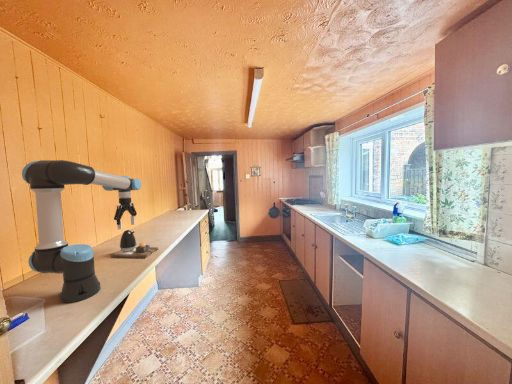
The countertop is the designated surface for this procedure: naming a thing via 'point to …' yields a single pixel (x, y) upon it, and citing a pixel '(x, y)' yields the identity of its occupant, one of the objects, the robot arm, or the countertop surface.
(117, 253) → the drawing board
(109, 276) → the countertop surface
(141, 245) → the button
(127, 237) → the pump dispenser
